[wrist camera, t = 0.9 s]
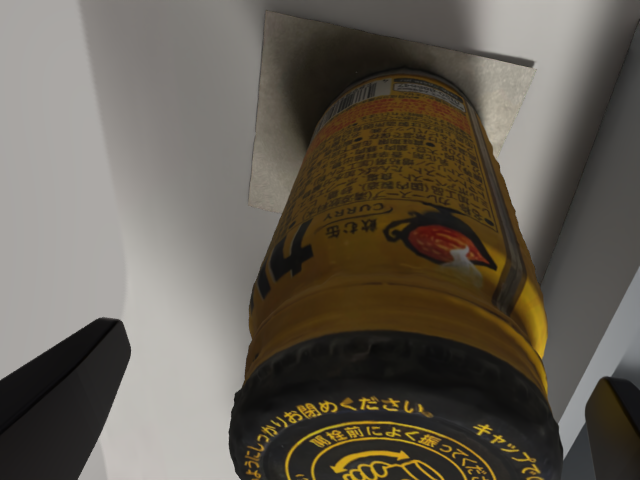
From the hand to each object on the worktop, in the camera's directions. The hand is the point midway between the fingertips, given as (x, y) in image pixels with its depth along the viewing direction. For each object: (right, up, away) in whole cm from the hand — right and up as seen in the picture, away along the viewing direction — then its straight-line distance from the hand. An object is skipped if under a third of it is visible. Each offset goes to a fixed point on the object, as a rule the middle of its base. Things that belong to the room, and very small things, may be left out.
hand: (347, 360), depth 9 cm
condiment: (+1, +6, +8) cm, 10 cm away
